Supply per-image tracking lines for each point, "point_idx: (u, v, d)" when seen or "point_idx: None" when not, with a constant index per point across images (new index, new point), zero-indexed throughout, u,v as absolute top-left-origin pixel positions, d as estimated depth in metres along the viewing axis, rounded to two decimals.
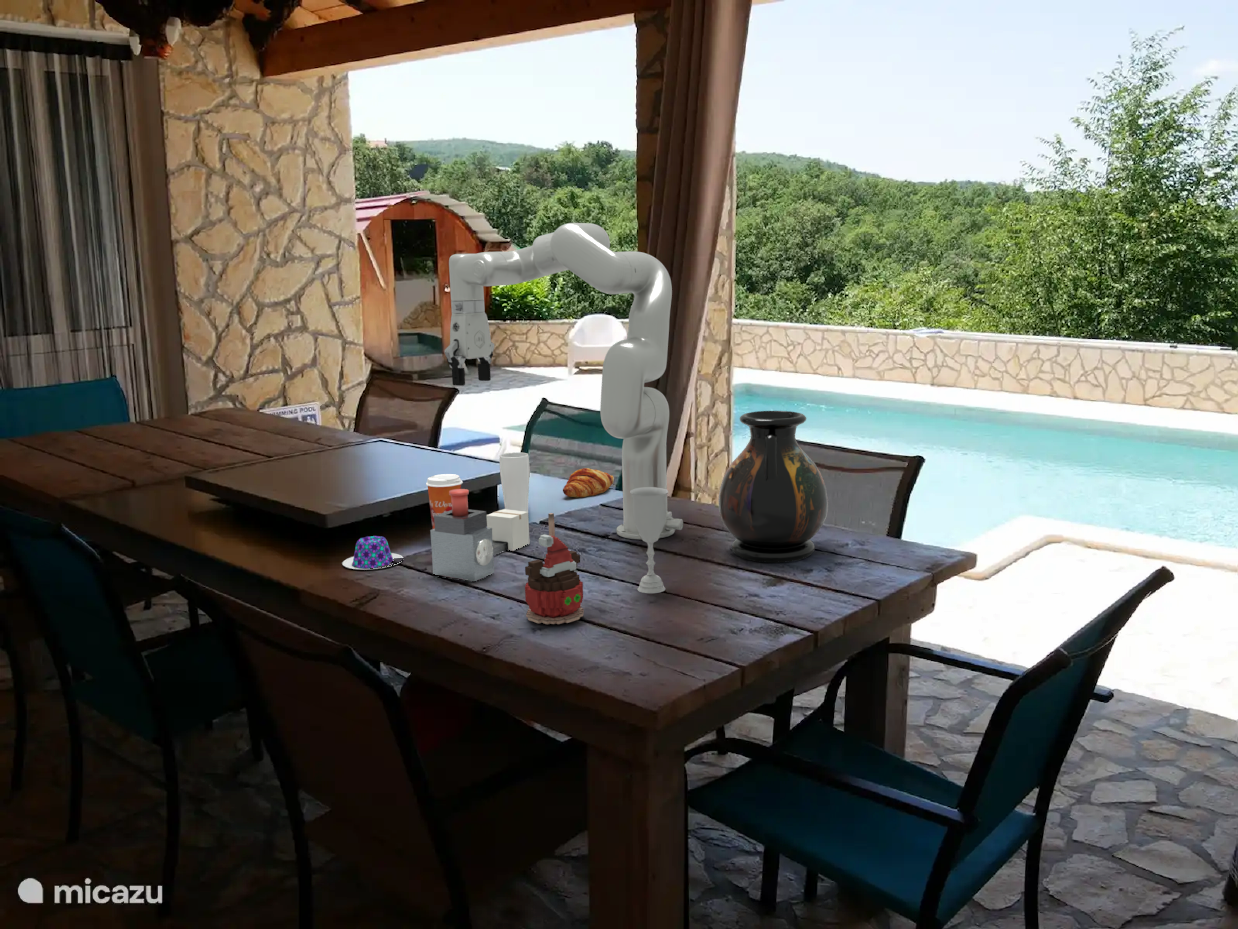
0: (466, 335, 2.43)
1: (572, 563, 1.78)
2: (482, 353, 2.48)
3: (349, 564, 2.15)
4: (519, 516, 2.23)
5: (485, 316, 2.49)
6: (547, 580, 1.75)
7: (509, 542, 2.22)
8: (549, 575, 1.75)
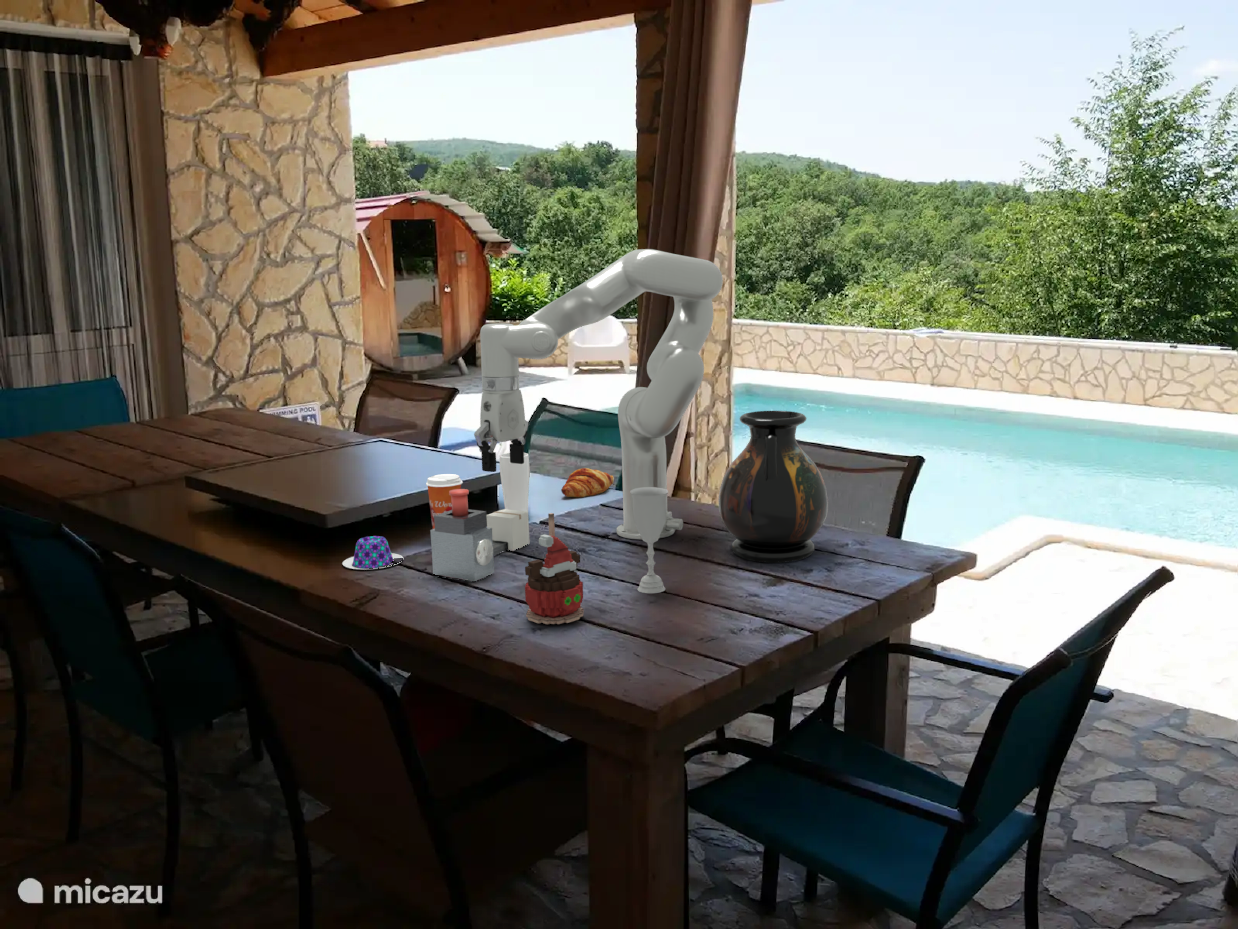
0: (499, 416, 2.15)
1: (572, 563, 1.78)
2: (516, 435, 2.21)
3: (349, 564, 2.15)
4: (519, 516, 2.23)
5: (519, 393, 2.21)
6: (547, 580, 1.75)
7: (509, 542, 2.22)
8: (549, 575, 1.75)
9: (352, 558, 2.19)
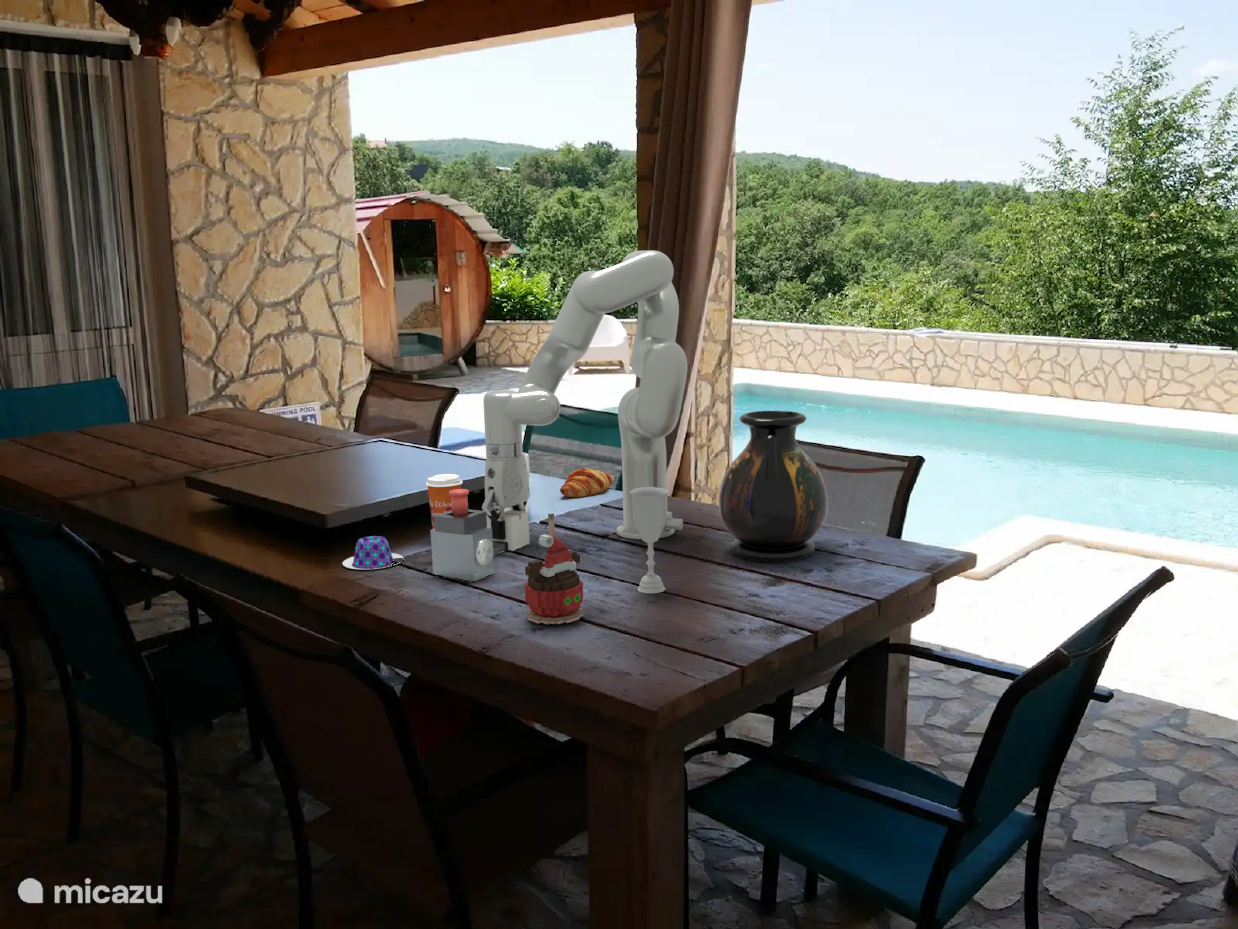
0: (503, 483, 2.18)
1: (572, 563, 1.78)
2: (520, 499, 2.23)
3: (349, 565, 2.15)
4: (519, 516, 2.23)
5: (523, 458, 2.24)
6: (547, 580, 1.75)
7: (509, 542, 2.22)
8: (549, 575, 1.75)
9: (351, 558, 2.19)
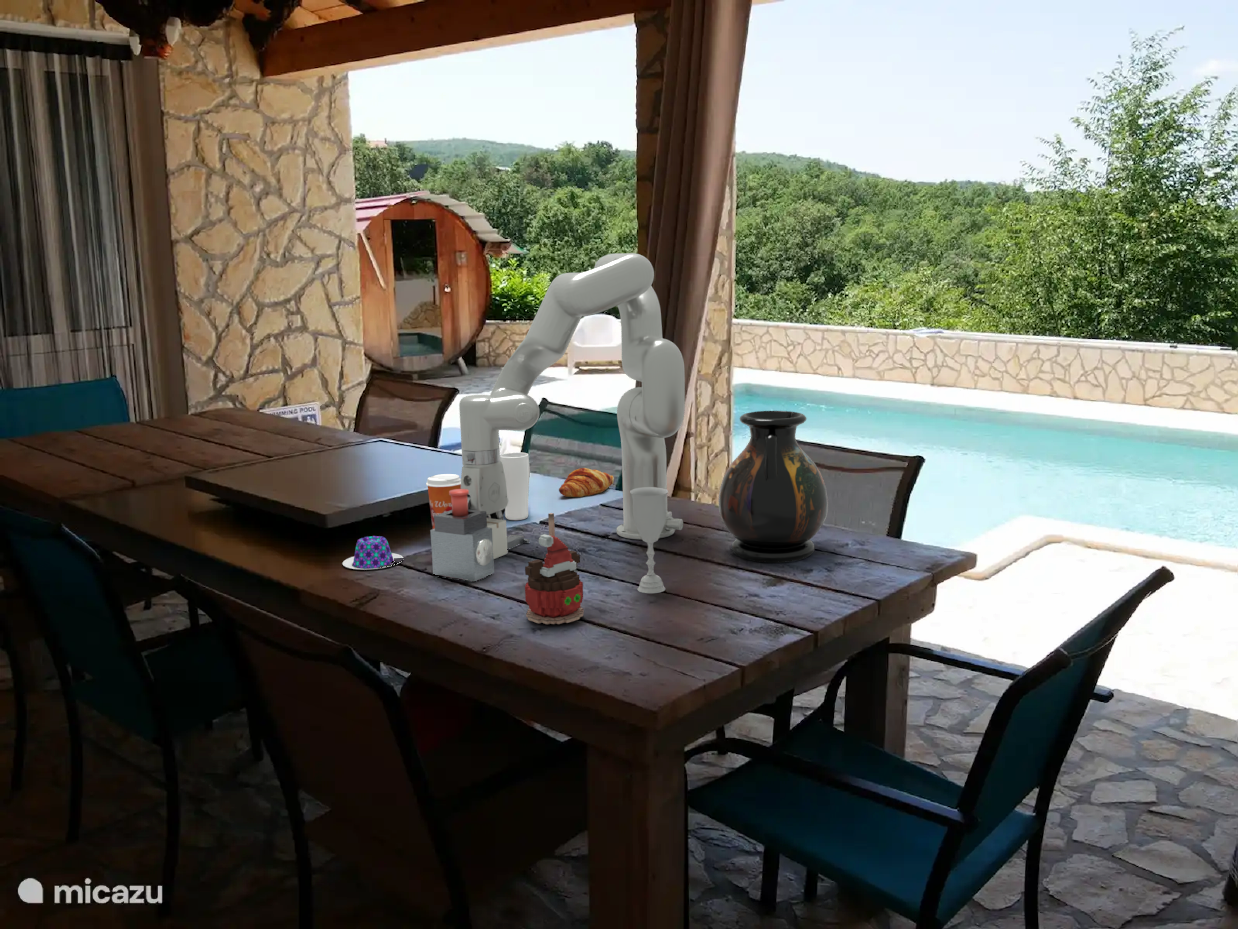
0: (479, 490, 2.11)
1: (572, 563, 1.78)
2: (497, 507, 2.16)
3: (349, 565, 2.15)
4: (496, 525, 2.16)
5: (500, 465, 2.17)
6: (547, 580, 1.75)
7: None
8: (549, 575, 1.75)
9: (350, 559, 2.18)
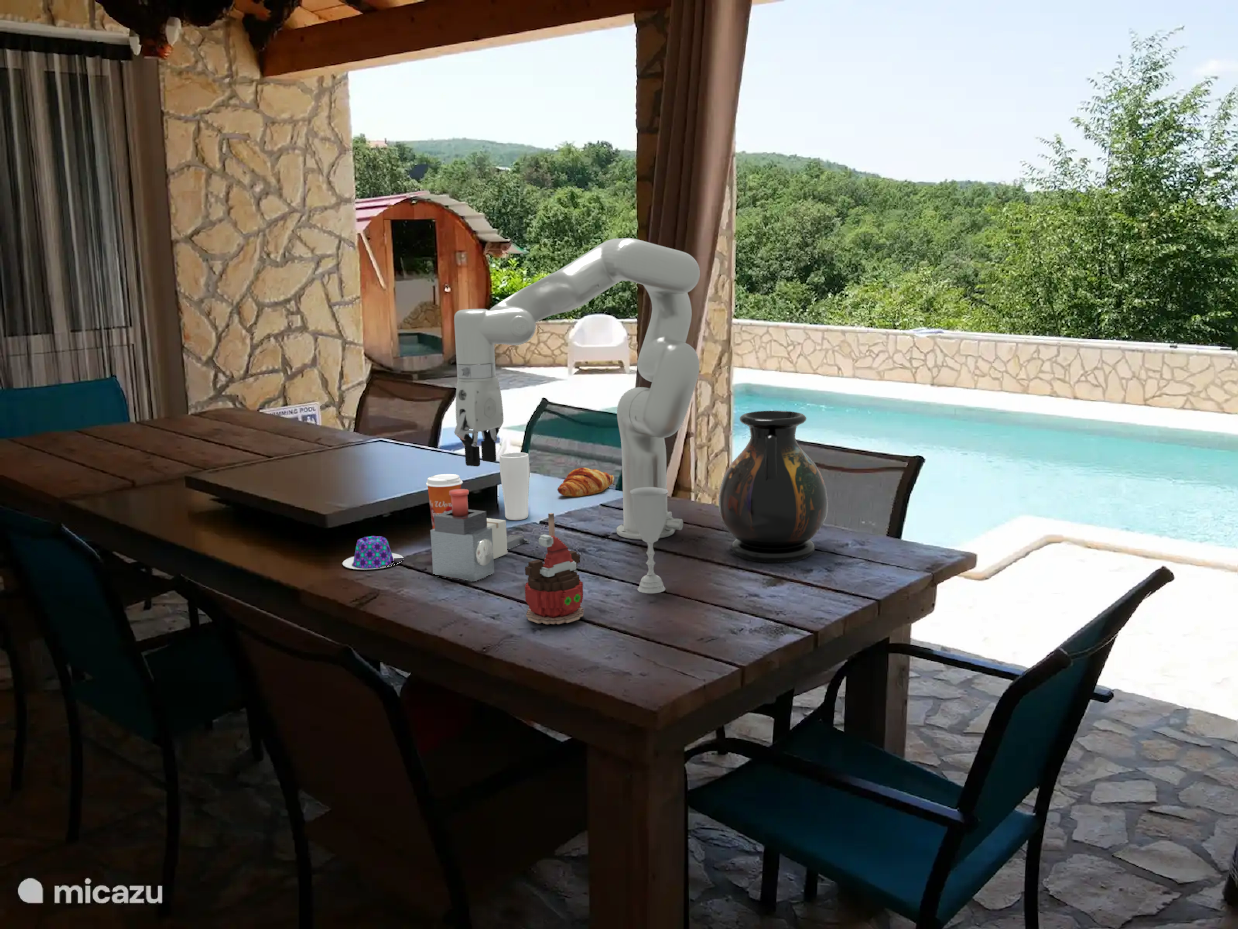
0: (474, 405, 2.08)
1: (572, 563, 1.78)
2: (493, 424, 2.13)
3: (349, 565, 2.14)
4: (496, 525, 2.16)
5: (496, 381, 2.14)
6: (547, 580, 1.75)
7: None
8: (549, 575, 1.75)
9: (349, 559, 2.18)
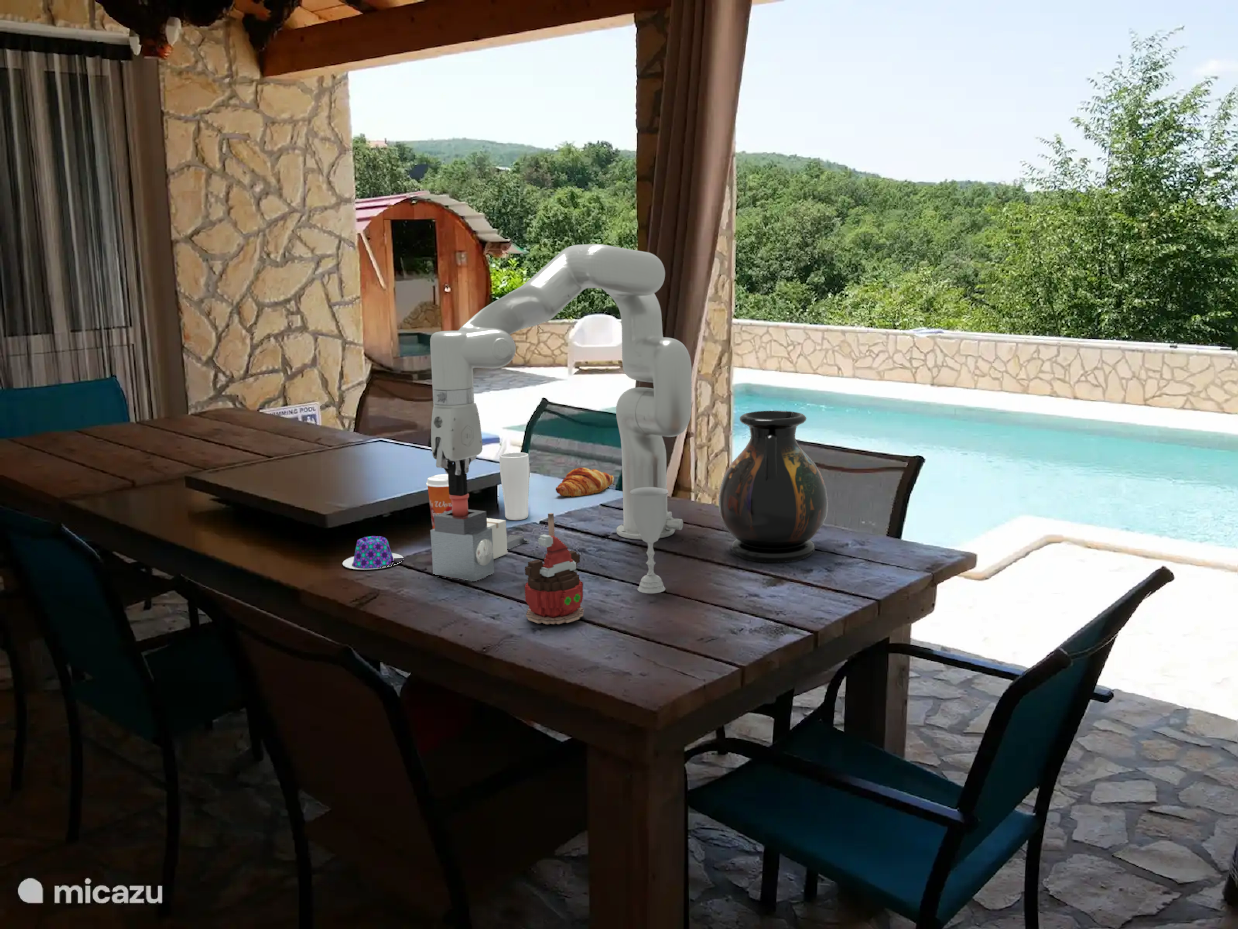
0: (451, 433, 1.96)
1: (572, 563, 1.78)
2: (471, 452, 2.01)
3: (350, 566, 2.14)
4: (496, 525, 2.16)
5: (475, 407, 2.02)
6: (547, 580, 1.75)
7: None
8: (549, 575, 1.75)
9: (349, 559, 2.18)
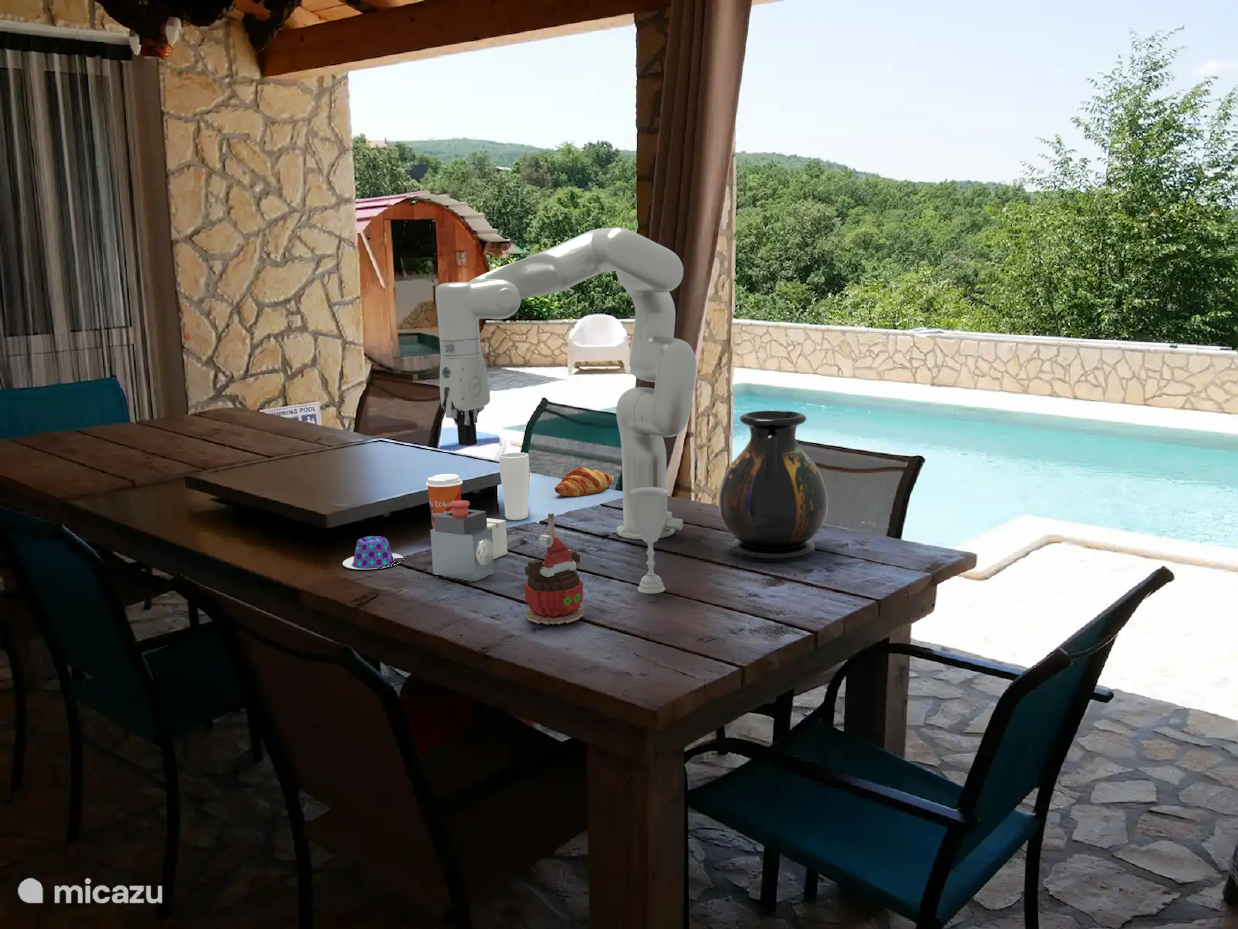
0: (459, 382, 1.99)
1: (572, 563, 1.78)
2: (479, 402, 2.04)
3: (350, 566, 2.14)
4: (496, 525, 2.16)
5: (481, 357, 2.05)
6: (547, 580, 1.75)
7: None
8: (549, 575, 1.75)
9: (348, 560, 2.18)
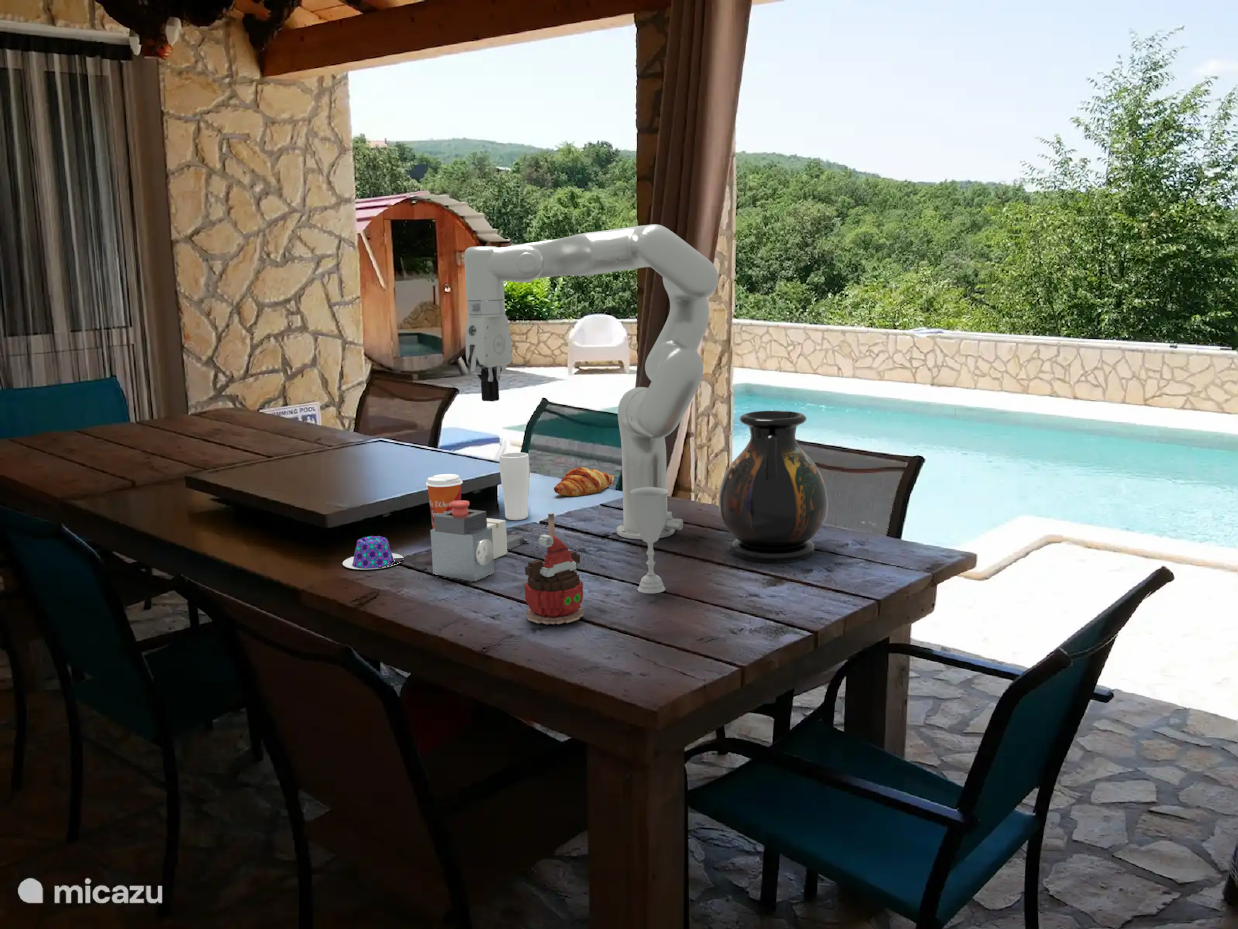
0: (484, 340, 2.11)
1: (572, 563, 1.78)
2: (502, 360, 2.16)
3: (350, 566, 2.14)
4: (496, 525, 2.16)
5: (505, 318, 2.17)
6: (547, 580, 1.75)
7: None
8: (549, 575, 1.75)
9: (347, 560, 2.17)
